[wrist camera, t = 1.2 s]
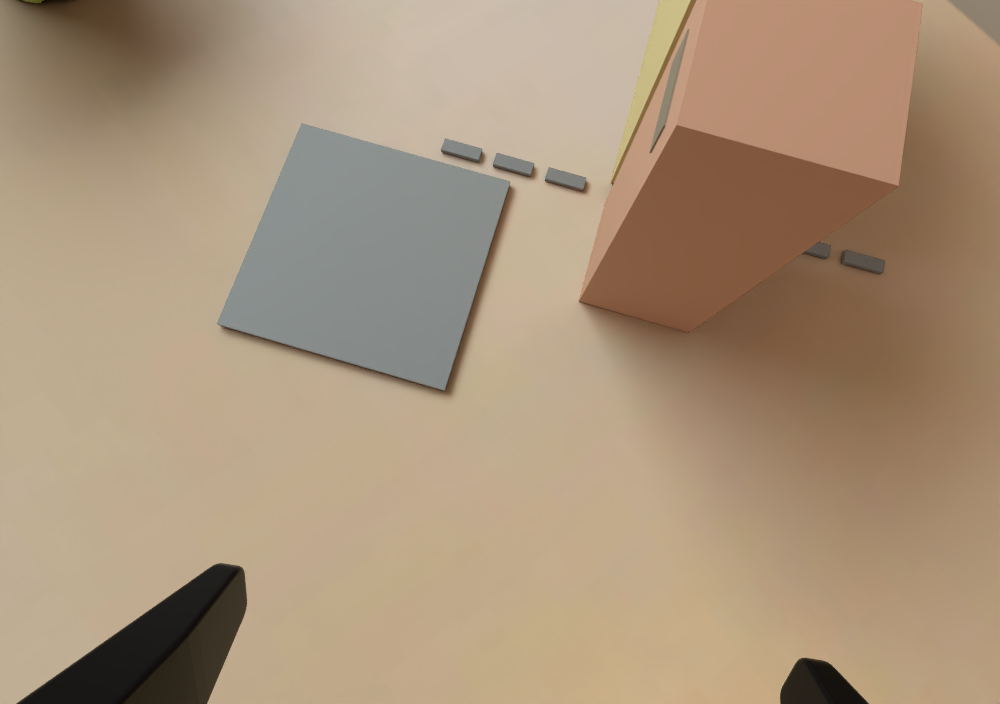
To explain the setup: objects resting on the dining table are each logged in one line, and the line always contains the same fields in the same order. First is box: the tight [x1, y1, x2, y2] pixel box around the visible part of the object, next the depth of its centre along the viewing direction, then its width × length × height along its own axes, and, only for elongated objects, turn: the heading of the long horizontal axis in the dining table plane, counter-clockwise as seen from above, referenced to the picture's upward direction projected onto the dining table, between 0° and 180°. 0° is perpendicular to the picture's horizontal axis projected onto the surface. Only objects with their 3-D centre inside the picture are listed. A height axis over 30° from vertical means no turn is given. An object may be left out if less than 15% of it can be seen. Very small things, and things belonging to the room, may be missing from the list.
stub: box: [579, 0, 923, 333], centre depth 19 cm, size 5×5×12 cm
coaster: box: [217, 124, 510, 391], centre depth 24 cm, size 10×10×1 cm
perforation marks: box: [441, 139, 885, 274], centre depth 25 cm, size 1×21×1 cm, turn 74°
